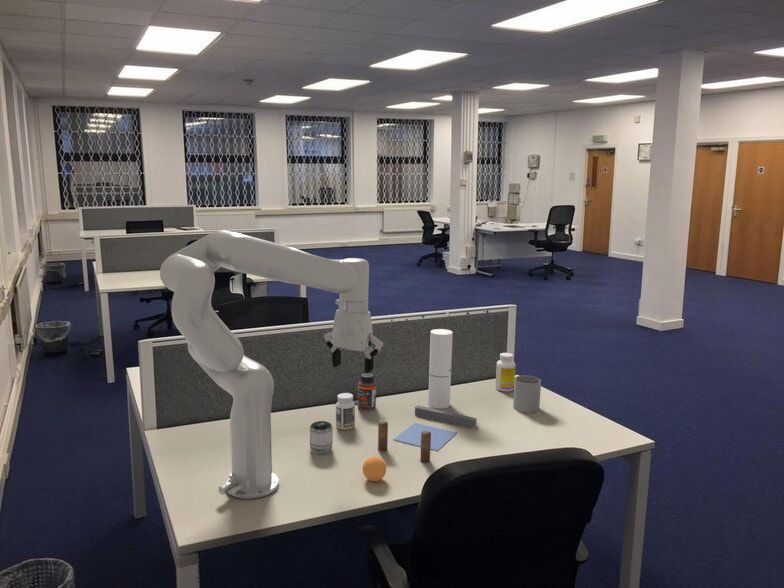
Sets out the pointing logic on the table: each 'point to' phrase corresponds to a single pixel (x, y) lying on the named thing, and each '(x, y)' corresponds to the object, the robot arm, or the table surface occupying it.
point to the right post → (425, 446)
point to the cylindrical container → (440, 368)
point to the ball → (374, 468)
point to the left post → (382, 436)
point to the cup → (527, 394)
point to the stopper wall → (446, 416)
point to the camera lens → (321, 437)
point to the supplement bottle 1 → (366, 392)
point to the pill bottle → (345, 411)
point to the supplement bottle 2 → (505, 373)
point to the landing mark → (414, 436)
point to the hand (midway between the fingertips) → (352, 368)
